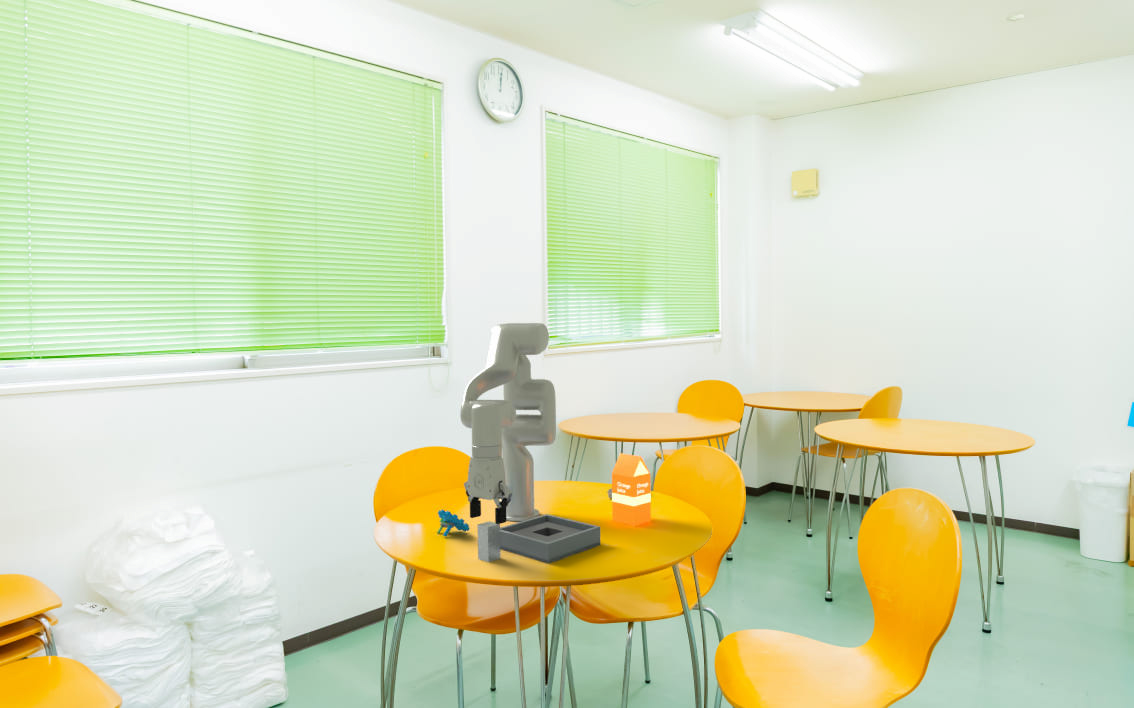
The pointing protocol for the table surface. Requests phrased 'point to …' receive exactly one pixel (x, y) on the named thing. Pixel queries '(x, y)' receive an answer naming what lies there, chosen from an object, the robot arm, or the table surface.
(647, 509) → the orange juice
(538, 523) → the box
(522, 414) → the robot arm
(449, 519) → the blue bumpy legged piece
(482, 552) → the peg
